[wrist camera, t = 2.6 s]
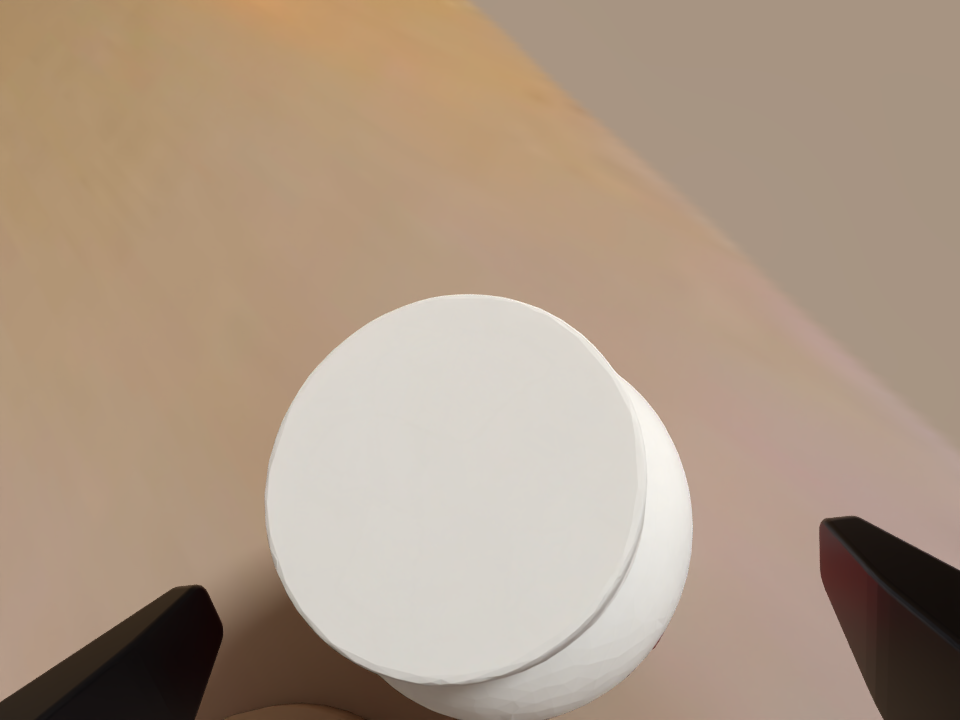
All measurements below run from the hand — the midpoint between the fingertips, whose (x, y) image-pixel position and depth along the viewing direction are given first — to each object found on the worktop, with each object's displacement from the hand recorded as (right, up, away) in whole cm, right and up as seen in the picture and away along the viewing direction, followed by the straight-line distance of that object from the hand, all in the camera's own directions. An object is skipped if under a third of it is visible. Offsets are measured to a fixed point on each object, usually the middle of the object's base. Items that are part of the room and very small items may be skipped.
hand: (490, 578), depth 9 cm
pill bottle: (+2, -3, +8) cm, 9 cm away
